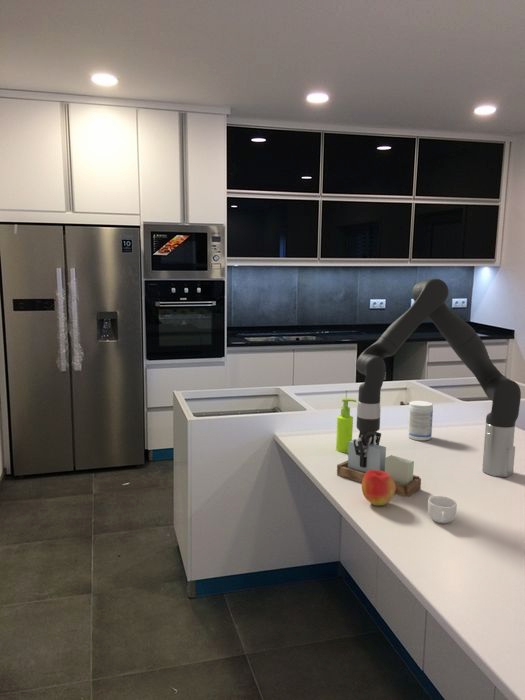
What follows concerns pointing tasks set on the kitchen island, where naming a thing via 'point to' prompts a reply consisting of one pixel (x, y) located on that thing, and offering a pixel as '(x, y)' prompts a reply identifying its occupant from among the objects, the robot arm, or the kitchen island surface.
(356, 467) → the blue-grey rectangular block
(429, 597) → the kitchen island surface
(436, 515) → the teacup
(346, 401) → the soap dispenser
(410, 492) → the wooden tray
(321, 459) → the kitchen island surface
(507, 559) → the kitchen island surface
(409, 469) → the seated panel
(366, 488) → the apple
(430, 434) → the supplement tub
